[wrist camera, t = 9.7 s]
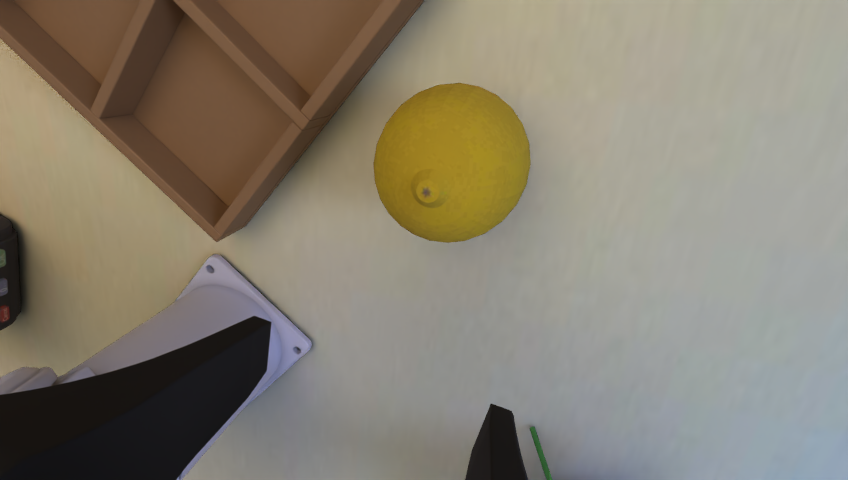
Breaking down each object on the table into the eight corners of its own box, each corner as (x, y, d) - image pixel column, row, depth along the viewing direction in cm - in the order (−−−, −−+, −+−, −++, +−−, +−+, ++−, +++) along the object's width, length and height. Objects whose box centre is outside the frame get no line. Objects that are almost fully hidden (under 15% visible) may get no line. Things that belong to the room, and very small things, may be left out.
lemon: (420, 68, 19) (345, 75, 12) (547, 91, 18) (549, 113, 11) (403, 188, 21) (332, 254, 14) (516, 214, 20) (500, 298, 13)
